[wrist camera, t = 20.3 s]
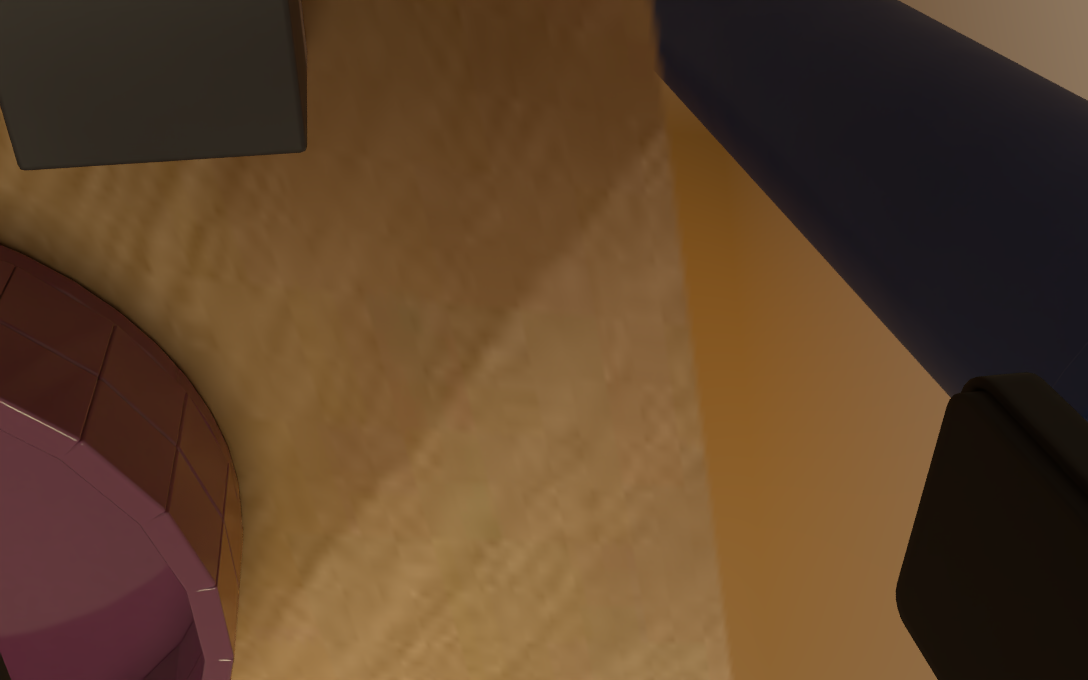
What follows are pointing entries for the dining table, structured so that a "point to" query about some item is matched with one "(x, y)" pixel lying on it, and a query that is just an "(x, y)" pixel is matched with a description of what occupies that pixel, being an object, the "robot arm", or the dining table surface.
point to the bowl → (107, 496)
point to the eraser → (151, 80)
